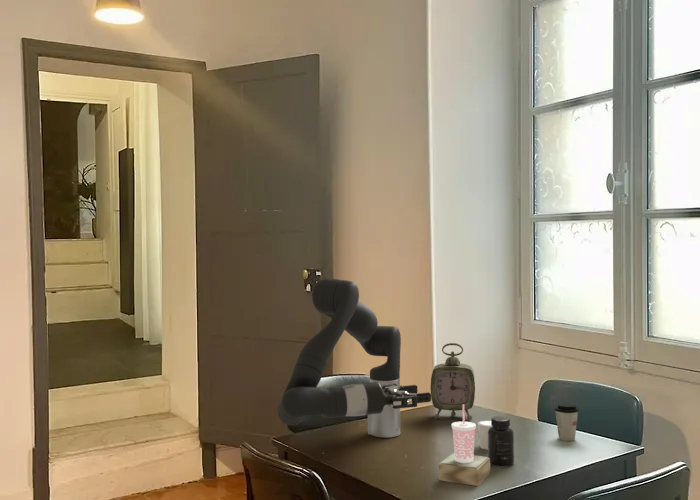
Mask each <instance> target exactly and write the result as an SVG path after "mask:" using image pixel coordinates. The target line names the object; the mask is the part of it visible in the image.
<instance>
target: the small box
mask: <svg viewBox="0 0 700 500" xmlns="http://www.w3.org/2000/svg"><path fill="white" fill-rule="evenodd" d="M489 475H491V464H490V458H488V456H482V455H474V459H473V462H470V463H460V462H457V461H455V454H454V452H453V453H451V454H449V456H447V457H446V458H445V459H443V460H442V461H440V462H439V463H438V480H439V481H442V482H443V481H444V482H449V483H454V484H462V485H470V486H477V487H478V486H480V485H481V484H482V482H484V481H485V480H486V479H487V478H488V477H489Z"/></svg>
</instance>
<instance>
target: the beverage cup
mask: <svg viewBox="0 0 700 500" xmlns="http://www.w3.org/2000/svg"><path fill="white" fill-rule="evenodd" d="M465 413H466V412H465V410H464V404H463V410H462V421H454V422H452V423H451V428H452V429H451V430H452V437H453V438H452V439H453V450H454V451H453V453H454V454H455V461H457V462H460V463H470V462H473V459H474V456H475V454H474V453H475V437H476V435H475V433H476V429H477V423H474V422H470V421H465V420H466V419H465V416H466V415H465Z"/></svg>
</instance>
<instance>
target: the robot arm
mask: <svg viewBox="0 0 700 500" xmlns="http://www.w3.org/2000/svg"><path fill="white" fill-rule="evenodd" d="M311 300H312V304H313V306H314V308H315V310H316V311H317V312H319V313H320V314H322V315H324V316H326V317H328V318H330V321H329V322H328V323H327V324H326V325H325V326H324V327H323V328H322V329H321V330H320V331H318V332H317V333H316V334H315V335H314V336H313V337H311V338H310V339H309V340H308V341H307V342H306V343H305V344H304V345H303V347H302V349H301V350H300V353H299V355H298V357H297V360H296V362H295V365H294V366H293V369H292V373H291V377H290V379H289V381H288V383H287V385H286V387H285V389H284V392H283V394H282V397H281V398H280V400H279V402H278V405H277V416H278V417H279V419H280V421H281V422H282V423H283V424H285V425H287V426H296V425H299V424H300V423H302V422H303V421H304V420H305V419H306V417H308V416H321V417H323V418H324V419H332V418H344V417H360V416H367V434H368V435H370V436H373V437H377V438H395V437H398V436H400V435H401V409H407V408H417V407H418V404H423V403H424V404H425V403H430V402H431V401H432V398H431V392H430V391H429V392H427V391H426V392H418V386H417V385H416V384H409V385H401V383H400V382H401V381H400V380H401V379H400V377H401V376H400V375H401V345H402V343H401V341H402V340H401V339H402V337H401V332H400V329H399V327H398V326H394V325H393V326H388V325H378V323H379V322H378V317H377V316H376V314H375V313H374V312H373V310H372V309H371V308H370V307H369V306H367V305H366V304H365V303H363V302H361V301H359V300H360V291H359V287H358V284H356V283H355V282H354V281H351V280H346V279H336V278H331V277H330V278H327V277H326V278H322V279H319V280H318V281H316V283H315V284H314V285H313V288H312V291H311ZM344 331H345V332H347V333H348V335H349V336H351V337H352V338H353V339H355V340H356V341H357V342H358V343H359V344H360V345H361V347H362V348H363V349H364V351H365V352H366V353H367V354H368V355H370V356H374V357H387V358H386V362H384V363H383V364H381V365H377V366H373V367H372V368H370V370H369V382H362V383H354V384H353V383H352V384H347V385H342V386H335V387H326V388H322V387H318V385H319V383H320V382H321V380H322V379H321V378H322V377H323V374H324V372H325V369H326V367H327V364H328V361H329V359H330V356H331V355H332V353H333V350H334V348H335V346H336V345H337V343H338V341H339V340H340V339H341V337H342V335H343V333H344ZM409 400H411V401H409Z"/></svg>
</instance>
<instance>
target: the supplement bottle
mask: <svg viewBox="0 0 700 500" xmlns="http://www.w3.org/2000/svg"><path fill="white" fill-rule="evenodd" d="M510 420H511V419H510V418H509V417H508V416H503V415H501V416H500V415H495V416H493V417H491V425H492V427H491V428H490V429H489V430H488V450H487V457H488V458H490V465H493V466H495V467H510V466H512V465H513V464H514V463H515V434H514V432H515V431H514V430H513V429H512V428H511V427H510V426H511V421H510Z"/></svg>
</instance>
